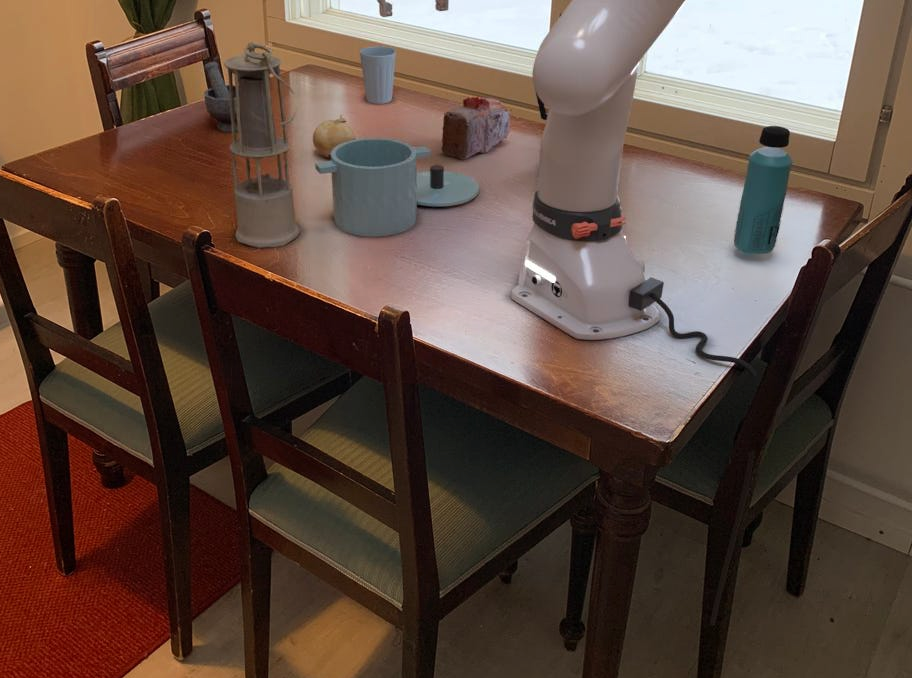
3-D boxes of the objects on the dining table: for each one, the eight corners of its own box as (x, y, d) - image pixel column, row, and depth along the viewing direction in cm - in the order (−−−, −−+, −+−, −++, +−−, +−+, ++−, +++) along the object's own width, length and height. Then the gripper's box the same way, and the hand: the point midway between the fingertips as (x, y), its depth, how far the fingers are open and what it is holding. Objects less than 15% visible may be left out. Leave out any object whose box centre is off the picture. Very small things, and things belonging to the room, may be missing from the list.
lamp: (273, 215, 168) (257, 29, 151) (323, 239, 161) (311, 47, 144) (222, 233, 162) (199, 42, 145) (271, 259, 155) (252, 61, 138)
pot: (444, 225, 165) (445, 158, 159) (335, 245, 159) (331, 176, 152) (411, 195, 176) (411, 131, 169) (308, 213, 169) (303, 147, 162)
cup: (369, 107, 214) (368, 57, 208) (355, 97, 220) (354, 48, 214) (402, 103, 217) (401, 53, 211) (387, 93, 223) (386, 44, 217)
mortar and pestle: (265, 126, 204) (259, 66, 197) (227, 137, 199) (220, 76, 192) (232, 113, 211) (225, 55, 204) (194, 124, 205) (186, 64, 198)
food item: (479, 134, 201) (480, 85, 195) (512, 143, 197) (514, 93, 191) (437, 153, 192) (437, 102, 187) (470, 163, 188) (472, 111, 183)
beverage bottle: (766, 267, 153) (794, 139, 142) (724, 257, 156) (747, 131, 145) (778, 251, 158) (806, 126, 147) (737, 241, 161) (761, 118, 149)
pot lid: (493, 201, 174) (494, 175, 171) (416, 215, 169) (416, 189, 166) (455, 172, 185) (456, 147, 182) (382, 184, 179) (381, 159, 177)
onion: (339, 165, 187) (337, 127, 183) (305, 156, 191) (302, 119, 187) (363, 152, 193) (362, 115, 189) (330, 144, 196) (328, 108, 192)
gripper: (468, -93, 153) (465, 2, 161) (342, -85, 146) (346, 14, 154) (486, -87, 149) (483, 11, 157) (357, -78, 142) (360, 24, 150)
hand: (414, 13), depth 155 cm, fingers open, 8 cm apart
